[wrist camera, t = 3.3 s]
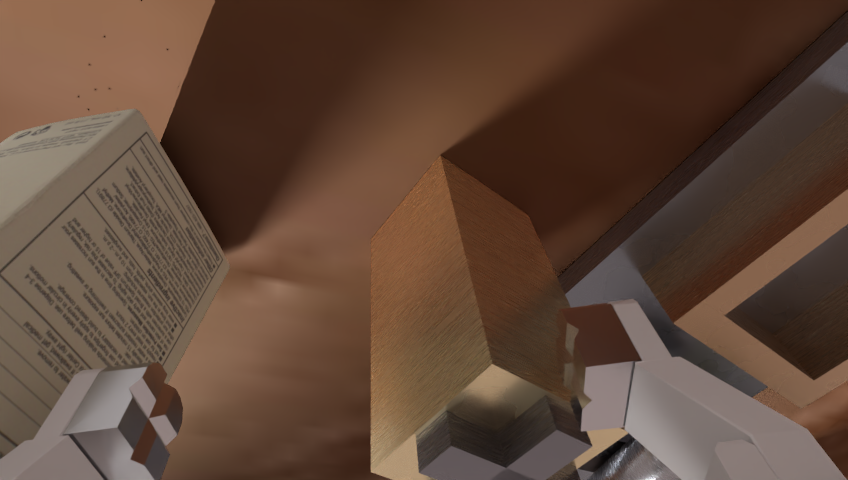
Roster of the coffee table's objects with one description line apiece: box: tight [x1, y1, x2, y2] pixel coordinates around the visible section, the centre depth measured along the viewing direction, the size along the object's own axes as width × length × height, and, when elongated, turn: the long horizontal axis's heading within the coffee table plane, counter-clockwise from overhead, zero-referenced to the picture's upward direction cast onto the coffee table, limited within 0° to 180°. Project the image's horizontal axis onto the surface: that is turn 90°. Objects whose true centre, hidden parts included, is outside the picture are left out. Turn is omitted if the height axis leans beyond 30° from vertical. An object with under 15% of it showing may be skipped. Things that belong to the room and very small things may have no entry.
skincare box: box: [0, 109, 230, 459], centre depth 12 cm, size 6×4×12 cm
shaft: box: [578, 433, 681, 480], centre depth 22 cm, size 9×4×4 cm, turn 155°
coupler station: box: [558, 11, 848, 480], centre depth 19 cm, size 32×12×4 cm, turn 143°
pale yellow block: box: [371, 155, 628, 480], centre depth 15 cm, size 4×4×10 cm
